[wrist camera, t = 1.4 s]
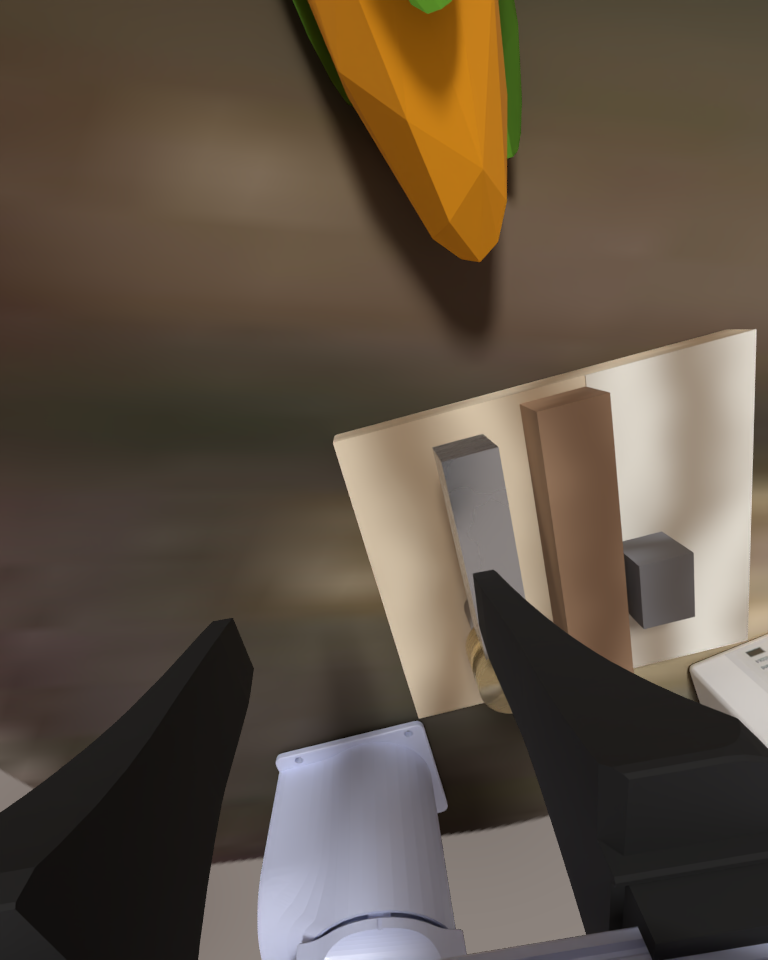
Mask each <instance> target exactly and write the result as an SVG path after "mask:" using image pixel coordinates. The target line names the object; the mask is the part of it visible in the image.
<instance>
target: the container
mask: <svg viewBox="0 0 768 960" xmlns="http://www.w3.org/2000/svg"><path fill="white" fill-rule="evenodd" d="M689 671H690V674H691V677H692V680H693V683H694V686H695V690H696V693H697V696H698V699H699V702H700V704H702V705H705V706H707V707H710V708H713V709H715V710H718V711H720V712H723V713H725V714H728V715H731V716H733V717H736V718H738V719H739V720H740V721H741V722H742V723H743V724H744V725H745V726H746V727H747V728H748V729H749V730H750V731H751V732H752V733H753V734H754V735H755V736H756V737H758V739H759V740H760V741H761V742H762V743H763V744H764V745H765V746H766V747H767V748H768V634H766V635H763V636H761V637H759V638H756V639H754V640H751V641H749V642H746V643H744V644H741V645H739V646H736V647H734V648H731V649H729V650H727V651H724V652H722V653H719V654H717V655H714V656H712V657H709V658H707V659H704V660H702V661H699V662H697V663H694V664H692V665H691V666H690V670H689Z"/></svg>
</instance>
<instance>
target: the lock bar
mask: <svg viewBox="0 0 768 960" xmlns="http://www.w3.org/2000/svg"><path fill="white" fill-rule="evenodd" d="M432 449H433V453H434V457H435V462H436V466H437V470H438V475H439V479H440V483H441V487H442V492H443V496H444V500H445V505H446V509H447V513H448V518H449V522H450V526H451V531H452V535H453V539H454V544H455V548H456V552H457V557H458V561H459V565H460V569H461V574H462V578H463V582H464V587H465V591H466V595H467V600H468V604H469V608H470V613H471V617H472V621H473V626H474V628H473V629H472V630H471V631H470V633H469V635H468V637H467V640H466V645H465V648H466V653H467V656H468V659H469V662H470V666H471V669H472V672H473V675H474V678H475V681H476V684H477V687H478V690H479V693H480V696H481V698H482V700H483V701H484V703H485V704H486V705H487V706H489V707H490V708H491V709H493V710H495V711H498V712H501V713H507V714H513V713H512V711H511V709H510V706H509V704H508V702H507V699H506V697H505V695H504V693H503V690H502V688H501V686H500V683H499V681H498V679H497V676H496V674H495V672H494V669H493V667H492V665H491V662H490V660H489V657H488V654H487V651H486V648H485V644H484V641H483V638H482V634H481V631H480V628H479V621H478V613H477V605H476V596H475V588H474V580H473V573H477V572H483V571H488V570H495V571H496V572H498V574H499V575H500V576H501V577H502V578H503V579H504V580H505V581H506V582H507V583H508V584H509V585H510V586H511V587H513V588H514V589H515V590H516V591H517V592H518V593H519V594H520V595H521V596H522V597H523V598H524V599H525V593H524V587H523V582H522V576H521V570H520V565H519V559H518V554H517V548H516V542H515V537H514V531H513V525H512V520H511V514H510V509H509V503H508V497H507V492H506V486H505V481H504V475H503V469H502V464H501V458H500V452H499V447H498V446H497V445H496V444H494V443H493V442H492V441H491V440H490V439H488V438H487V437H486V436H485V435H484V434H480V435H476V436H473V437H469V438H465V439H461V440H458V441H454V442H450V443H446V444H443V445H439V446H435V447H432Z"/></svg>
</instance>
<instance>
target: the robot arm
mask: <svg viewBox="0 0 768 960" xmlns="http://www.w3.org/2000/svg"><path fill="white" fill-rule="evenodd" d="M473 580H474V588H475V596H476V605H477V613H478V621H479V628H480V631H481V634H482V638H483V641H484V644H485V648H486V651H487V654H488V657H489V660H490V662H491V665H492V667H493V669H494V672H495V674H496V676H497V679H498V681H499V683H500V686H501V688H502V690H503V693H504V695H505V697H506V699H507V702H508V704H509V706H510V709H511V711H512V713H513V715H514V718H515V720H516V722H517V725H518V727H519V729H520V732H521V734H522V737H523V739H524V742H525V744H526V747H527V749H528V752H529V755H530V758H531V761H532V764H533V767H534V770H535V773H536V776H537V779H538V782H539V785H540V788H541V791H542V795H543V798H544V801H545V804H546V807H547V810H548V813H549V816H550V819H551V822H552V825H553V828H554V832H555V835H556V838H557V841H558V844H559V847H560V850H561V854H562V857H563V860H564V863H565V867H566V870H567V873H568V876H569V879H570V882H571V886H572V889H573V892H574V896H575V899H576V902H577V905H578V909H579V912H580V915H581V918H582V922H583V925H584V928H585V932H586V935H582V936H576V937H570V938H565V939H558V940H552V941H546V942H540V943H534V944H528V945H522V946H516V947H510V948H504V949H498V950H491V951H485V952H480V953H473V954H467V953H466V947H465V941H464V935H463V931H462V930H461V929H456V928H455V922H454V916H453V909H452V903H451V896H450V890H449V884H448V877H447V871H446V865H445V859H444V852H443V846H442V840H441V833H440V827H439V821H438V815H437V813H440V812H443V811H445V810H446V809H447V807H448V805H447V800H446V796H445V793H444V790H443V787H442V783H441V780H440V777H439V774H438V770H437V767H436V764H435V761H434V757H433V754H432V751H431V748H430V744H429V741H428V738H427V735H426V732H425V728H424V725H423V723H421V722H420V721H412V722H408V723H404V724H400V725H396V726H392V727H388V728H384V729H380V730H376V731H371V732H367V733H363V734H359V735H355V736H351V737H347V738H343V739H339V740H334V741H330V742H326V743H322V744H318V745H314V746H310V747H306V748H302V749H297V750H293V751H289V752H285V753H282V754H279V755H278V756H277V759H276V766H277V768H278V770H279V772H280V773H279V778H278V783H277V788H276V794H275V799H274V805H273V810H272V816H271V821H270V827H269V832H268V837H267V843H266V848H265V854H264V859H263V865H262V870H261V876H260V884H259V894H258V939H259V948H260V953H261V958H262V960H768V748H767V747H766V746H765V745H764V744H763V743H762V742H761V741H760V740H759V739H758V737H756V736H755V735H754V734H753V733H752V732H751V731H750V730H749V729H748V728H747V727H746V726H745V725H744V724H743V723H742V722H741V721H740V720H739V719H738V718H736V717H733V716H731V715H728V714H725V713H723V712H720V711H718V710H715V709H713V708H710V707H707V706H705V705H702V704H700V703H697V702H695V701H692V700H689V699H687V698H685V697H682V696H680V695H678V694H675V693H673V692H671V691H669V690H667V689H664V688H662V687H660V686H658V685H656V684H654V683H651V682H649V681H647V680H645V679H643V678H641V677H639V676H637V675H636V674H634V673H632V672H630V671H628V670H626V669H624V668H622V667H621V666H619V665H617V664H615V663H613V662H611V661H610V660H608V659H606V658H604V657H603V656H601V655H599V654H598V653H596V652H595V651H593V650H592V649H590V648H588V647H587V646H585V645H584V644H582V643H581V642H579V641H578V640H576V639H575V638H573V637H572V636H571V635H569V634H568V633H566V632H565V631H564V630H562V629H561V628H560V627H558V626H557V625H556V624H554V623H553V622H552V621H551V620H549V619H548V618H547V617H546V616H544V615H543V614H542V613H541V612H540V611H538V610H537V609H536V608H535V607H534V606H532V605H531V604H530V603H529V602H528V601H527V600H526V599H524V598H523V597H522V596H521V595H520V594H519V593H518V592H517V591H516V590H515V589H514V588H513V587H511V586H510V585H509V584H508V583H507V582H506V581H505V580H504V579H503V578H502V577H501V576H500V575H499V574H498V572H496V571H495V570H488V571H483V572H477V573H473ZM253 670H254V668H253V666H252V663H251V661H250V658H249V656H248V654H247V651H246V649H245V646H244V644H243V641H242V639H241V637H240V634H239V632H238V629H237V627H236V624H235V622H234V620H233V618H229V619H224V620H218V621H213V622H212V623H211V624H210V625H209V626H208V627H207V628H206V629H205V630H204V631H203V632H202V633H201V634H200V635H199V636H198V638H197V639H196V640H195V641H194V642H193V643H192V644H191V645H190V646H189V648H188V649H187V650H186V651H185V652H184V653H183V654H182V655H181V656H180V657H179V658H178V660H177V661H176V662H175V663H174V664H173V665H172V666H171V667H170V668H169V669H168V670H167V672H166V673H165V674H164V675H163V676H162V677H161V678H160V679H159V680H158V681H157V682H156V683H155V684H154V685H153V686H152V687H151V688H150V689H149V690H148V691H147V692H146V693H145V694H144V695H143V696H142V697H141V698H140V699H139V700H138V701H137V702H136V703H135V704H134V705H133V706H132V707H131V708H130V709H129V710H128V711H127V712H126V713H125V714H124V715H123V716H122V717H121V718H120V719H119V720H118V721H117V722H115V723H114V724H113V725H112V726H111V727H110V728H109V729H108V730H106V731H105V732H104V733H103V734H102V735H101V736H100V737H99V738H97V739H96V740H95V741H94V742H93V743H92V744H90V745H89V746H88V747H87V748H86V749H84V750H83V751H82V752H81V753H79V754H78V755H77V756H76V757H74V758H73V759H72V760H71V761H69V762H68V763H67V764H66V765H64V766H63V767H62V768H61V769H59V770H58V771H57V772H55V773H54V774H53V775H52V776H50V777H49V778H48V779H47V780H45V781H44V782H43V783H41V784H40V785H38V786H37V787H36V788H34V789H33V790H32V791H30V792H29V793H27V794H26V795H25V796H23V797H22V798H20V799H19V800H18V801H16V802H15V803H13V804H12V805H11V806H9V807H8V808H6V809H5V810H3V811H2V812H0V960H198V955H199V945H200V938H201V930H202V923H203V915H204V908H205V901H206V900H205V899H206V893H207V886H208V880H209V873H210V867H211V861H212V855H213V849H214V843H215V837H216V832H217V826H218V821H219V815H220V810H221V804H222V800H223V796H224V792H225V787H226V783H227V780H228V776H229V773H230V769H231V766H232V762H233V758H234V755H235V751H236V748H237V744H238V741H239V737H240V734H241V730H242V726H243V723H244V719H245V715H246V712H247V708H248V704H249V698H250V692H251V685H252V677H253ZM299 757H301V758H299Z"/></svg>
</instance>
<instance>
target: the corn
mask: <svg viewBox="0 0 768 960" xmlns="http://www.w3.org/2000/svg"><path fill="white" fill-rule="evenodd" d="M293 3H294V5H295V7H296V10H297V12H298V14H299V17H300V19H301V21H302V24H303V26H304V28H305V31H306V33H307V35H308V37H309V39H310V41H311V43H312V45H313V47H314V49H315V51H316V53H317V55H318V57H319V59H320V60H321V62H322V64H323V66H324V68H325V70H326V72H327V74H328V76H329V78H330V80H331V82H332V83H333V85H334V86H335V87H336V89H337V90H338V92H339V93H340V94H341V96H342V97H343V99H344V100H345V101H346V103H347V104H348V105H351V106H353V107H354V108H355V110H356V112H357V113H358V115H359V117H360V118H361V120H362V122H363V123H364V125H365V127H366V128H367V130H368V132H369V133H370V135H371V137H372V138H373V140H374V142H375V143H376V145H377V147H378V148H379V150H380V152H381V153H382V155H383V157H384V158H385V160H386V162H387V164H388V165H389V167H390V169H391V170H392V172H393V174H394V175H395V177H396V179H397V180H398V182H399V184H400V185H401V187H402V189H403V190H404V192H405V194H406V195H407V197H408V199H409V200H410V202H411V204H412V205H413V207H414V209H415V210H416V212H417V214H418V215H419V217H420V219H421V220H422V222H423V224H424V225H425V227H426V229H427V230H428V232H429V234H430V235H431V237H432V239H434V240H435V241H436V242H438V243H439V244H441V245H442V246H443V247H445V248H446V249H448V250H449V251H450V252H452V253H453V254H455V255H456V256H457V257H459V258H460V259H462V260H469V261H476V262H481V261H482V259H483V258H484V257H485V256H486V255H487V254H488V253H489V252H490V250H491V249H492V248H493V247H494V246H495V245H496V244H497V243H498V239H499V235H500V230H501V226H502V221H503V216H504V212H505V207H506V203H507V158H511V157H513V156H514V155H515V153H516V152H517V151H518V147H519V141H520V135H521V108H522V94H521V74H520V54H519V34H518V21H517V15H516V9H515V3H514V0H293Z"/></svg>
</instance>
